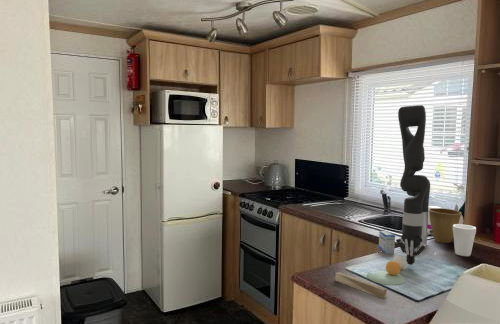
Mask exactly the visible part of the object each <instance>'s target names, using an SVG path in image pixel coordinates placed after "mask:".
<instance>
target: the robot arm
mask: <svg viewBox="0 0 500 324" xmlns="http://www.w3.org/2000/svg"><path fill="white" fill-rule="evenodd" d="M397 117H398V124H399V129H400V134H401V142H402V155H403V156H402V157H403V163H404V169H403V173H402V176H401V180H400V184H399V186H400V188H401V190H402V191H403V192H406V194H407V195H408V196H409V197H405V198H404V201H403V214H402V226H401V227H402V228H401V229H402V230H401V232H402V235H401V236H400V238H398V239H395V243H397V244H398V248H400V251H402V253H404V254H405V255H406V260H407V265H410V266H412V265H413V264H415V261H416V259H415V258H416V257H418V256H420V255H421V254H422V253H423V252H424V251H425V250H426V249H427V248H428V245H427V244H428V234H427V227H428V206H430V205H429V203H430V202H429V201H430V193H431V181H430V180H429V179H428V177H427V176H426V175H422V174H416V173H417V172H420V171H421V170H423V169H424V162H425V159H426V157H425V156H426V155H425V147H424V142H425V135H426V126H427V125H426V123H427V122H426V121H427V112H426V108H425V106H424V105H423V104H417V105H415V104H414V105H406V106H405V105H404V106H401V107H399V108H398V111H397ZM413 127H417V129H416V131H415V134H413V133H412V132H411V129H410V128H413ZM418 247H419V248H418Z"/></svg>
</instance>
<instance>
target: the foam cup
mask: <svg viewBox="0 0 500 324" xmlns="http://www.w3.org/2000/svg"><path fill="white" fill-rule="evenodd" d="M476 233H477V227H476V226H473V225H469V224H461V223H459V224H454V225H453V235H454V237H453V244H454V245H453V246H454V254H455V255H458V256H461V257H471V254H472V250H473V246H474V241H475V235H476Z"/></svg>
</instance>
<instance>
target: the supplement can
mask: <svg viewBox="0 0 500 324" xmlns="http://www.w3.org/2000/svg"><path fill="white" fill-rule="evenodd" d="M431 208H442V207H441V206H438V205H429V206H428V227H427V235H432V236H433V232H432V228H431V223H430V215H429V209H431Z"/></svg>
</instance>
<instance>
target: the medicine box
mask: <svg viewBox="0 0 500 324" xmlns="http://www.w3.org/2000/svg"><path fill="white" fill-rule="evenodd" d="M395 244H396V235H395V234H393V233H392V232H390V231H387V230H379V235H378V250H380V251H382V252H383V253H384V254H395V249H396V247H395V246H396V245H395Z"/></svg>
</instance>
